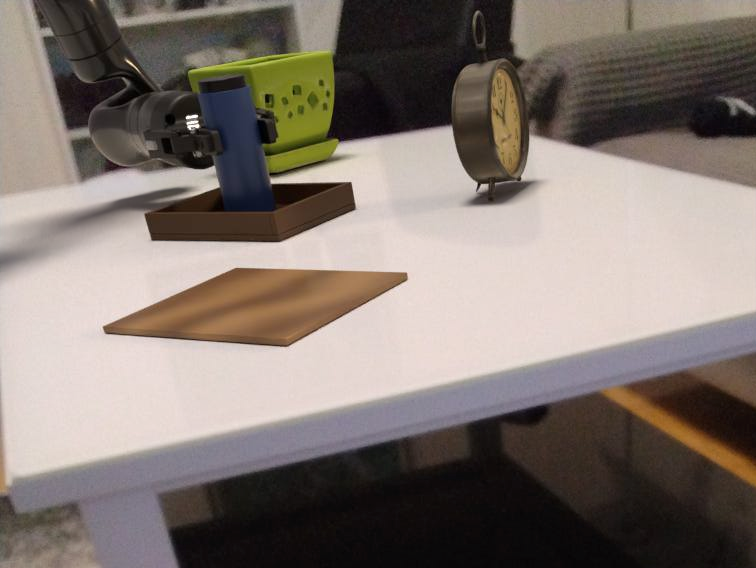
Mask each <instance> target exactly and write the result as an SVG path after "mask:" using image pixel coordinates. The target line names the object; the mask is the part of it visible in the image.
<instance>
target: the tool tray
mask: <svg viewBox="0 0 756 568" xmlns="http://www.w3.org/2000/svg"><path fill="white" fill-rule="evenodd" d="M271 185H272V190H273V195H274V199H275V204H276V209H277V210H276V211H273V212H226V211H225V207H224V202H223V198H222V194H221V190H220V186H219V187H216V188H213V189H210V190H208V191H205V192H201V193H199V194H196V195H193V196H191V197H188V198H185V199H182V200H179V201H175V202H174V203H170V204H167V205H164V206H162V207H158V208H157V209H154V210H153V209H152V210H151V211H148V212H147V211H146V212H144V213H143V215H144V219H145V222H146V223H145V224H146V226H147V229H148V232H149V237H150V240H152V241H217V242H218V241H224V242H225V241H226V242H227V241H229V242H231V241H232V242H281V241H283V240H286V239H289V238H290V237H293V236H296V235H297V234H299V233H302V232H304V231H307V230H309V229H311V228H313V227H316V226H318V225H320V224H322V223H325V222H327V221H329V220H332V219H334V218H336V217H338V216H341V215H343V214H346V213H348V212H350V211H352V210H355V209H357V205H356V200H355V194H354V188H353V183H352V181H333V182H331V181H329V182H285V183H284V182H282V183H281V182H280V183H279V182H278V183H271Z"/></svg>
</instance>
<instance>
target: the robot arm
mask: <svg viewBox="0 0 756 568" xmlns="http://www.w3.org/2000/svg"><path fill="white" fill-rule="evenodd" d="M34 2H35V3H36V6H37V7H38V8H39V11H40V13H41V14H42V15H43V18H44V19H45V21H46V23H47V25H48V27H49V29H50V31H51V33H52V35H53V36H54V38H55V40H56V42H57V44H58V47H60V49H61V51H62V53H63V55H64V57H65V58H66V61H67V63H68V64H69V66H70V67H71V70H72V72H73V73H74V74H75V76H76V77H77V78H78V80H80V81H81V82H84V83H86V84H98V83H102V82H106V81H110V80H113V79H114V80H115V79H122V80H123V81H124V83H125V85H126V87H125V88H123V89H122V90H119V92H116V93H115V94H113V95H112V96H110V97H108V98H107V99H105V100H103V101H102V102H100V103H99V104H97V105H96V106H95V107H93V109H92V110H91V112H90V114H89V117H88V121H87V124H88V125H87V126H88V131H89V135H90V138H91V141H92V142H93V144H94V146H95V148H96V149H97V150H98V151H99V152H100V153H101V155H103V156H104V157H105V158H106V159H107V160H109V161H110V162H112V163H114V164H116V165H119V166H122V167H134V166H139V165H142V164H146V163H149V162H152V161H154V160H155V161H156V160H159V161H162V162H164V163H166V164H170V165H172V166H177V167H182V168H186V169H192V170H201V171H202V170H207V169H209V168H212V167H215V165H214V161H213V157H212V155H213V156H218V155H222V154H223V149H222V145H221V140H220V136H219V133H218V131H217V130H212V129H206V128H205V124H204V120H203V116H202V112H201V108H200V104H199V99H198V95H197V93H199V92H193V91H189V90H165V91H164V90H163V89H162V88H161V87H160V85H158V83H157V82H156V81H155V80H154V78H153V77H152V76H151V75H150V74H149V72H148V71H147V70H146V69H145V67H144V66H143V65H142V64H141V62H140V61H139V59H138V58H137V56H136V55H135V53H134V52H133V49H131V47H130V46H129V44H128V42H127V41H126V39H125V36H124V35H123V33H122V31H121V28H120V27H119V24H118V22H117V19H116V18H115V17H114V14H113V12H112V10H111V8H110V5H109V4H108V2H107V0H34ZM255 111H256V116H257V121H258V125H259V130H260V135H261V139H262V144H273V143H276V138H279V136H278V132H277V128H276V123H275V119H274V117H275V116H274V112H273V111H269V110H266V109H263V108H262V109H260V108H255Z"/></svg>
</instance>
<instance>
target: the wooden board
mask: <svg viewBox="0 0 756 568" xmlns="http://www.w3.org/2000/svg"><path fill="white" fill-rule="evenodd" d="M408 279H409V276H408V272H406V271H404V272H403V271H402V272H401V271H373V270H372V271H371V270H370V271H369V270H367V271H366V270H334V269H333V270H331V269H300V268H299V269H297V268H296V269H295V268H265V267H264V268H262V267H261V268H260V267H234V268H232V269H229V270H228V271H225V272H223V273H221V274H218V275H216V276H214V277H211V278H209V279H207V280H204V281H202V282H200V283H198V284H196V285H194V286H191V287H189V288H187V289H185V290H182V291H180V292H177V293H175V294H173V295H171V296H168V297H166V298H164V299H162V300H160V301H158V302H155V303H153V304H151V305H148V306H145V307H144V308H141V309H140V310H137V311H134V312H133V313H130V314H128V315H125V316H124V317H121V318H118V319H117V320H114V321H112V322H109V323H108V324H105V325H103V326H102V329H103V333H105V334H117V335H130V336H131V335H132V336H145V337H161V338H175V339H188V340H199V341H200V340H201V341H213V342H214V341H215V342H229V343H243V344H255V345H257V344H258V345H269V346H271V345H272V346H285V347H286V346H289V345H291V344H293V343H294V342H296V341H298V340H299V339H302V338H303V337H305V336H306V335H308V334H310V333H312V332H314V331H316V330H318V329H320V328H321V327H323V326H325V325H327V324H329V323H330V322H332V321H334V320H336V319H338V318H339V317H341V316H343V315H345V314H346V313H348V312H351V311H352V310H354V309H356V308H357V307H360V306H361V305H362V304H364V303H366V302H368V301H370V300H372V299H374V298H375V297H377V296H380V295H381V294H382V293H384V292H386V291H389V290H390V289H392V288H393V287H395V286H397V285H399V284H400V283H402V282H404V281H406V280H408Z"/></svg>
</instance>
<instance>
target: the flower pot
mask: <svg viewBox="0 0 756 568" xmlns="http://www.w3.org/2000/svg"><path fill="white" fill-rule="evenodd" d="M233 74H244V75H245V80H246V84H247V85H250V88H251V93H252V98H253V102H254V107H255V108H260V109H262V108H263V109H266V110H269V111H273V112H274V116H275V117H274V119H275V123H276V128H277V132H278V136H279V138H276V143H273V144H263V148H264V153H265V158H266V162H267V167H268V172H269V174H273V173H274V174H275V173H276V174H277V173H278V174H279V173H283V172H285V171H288V170H292V169H296V168H300V167H303V166H306V165H310V164H314V163H317V162H318V163H319V162H323V161H324V162H325V161H327V160H328V159H330V158H331V157H332V156H333V154H334V153H335V152H336V151H337V148H338V146H339V139H338V138H327V137H328V133H329V130H330V127H331V123H332V117H333V112H334V111H333V110H334V104H335V69H334V60H333V54H332V51H330V50H318V51H316V50H315V51H305V52H292V53H284V54H283V53H282V54H273V55H267V56H260V57H256V58H255V57H254V58H250V59H249V58H248V59H243V60H239V61H234V62H227V63H222V64H216V65H210V66H204V67H200V68H196V69H195V68H193V69H191V70H188V72H187V76H188V81H189V84H190V87H191V90H192V92H200V90H199V86H198V81H199V80H203V79H207V78H212V77H218V76H225V75H233ZM293 91H294V92H293ZM266 95H268V100H269V101H268V102H266Z"/></svg>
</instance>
